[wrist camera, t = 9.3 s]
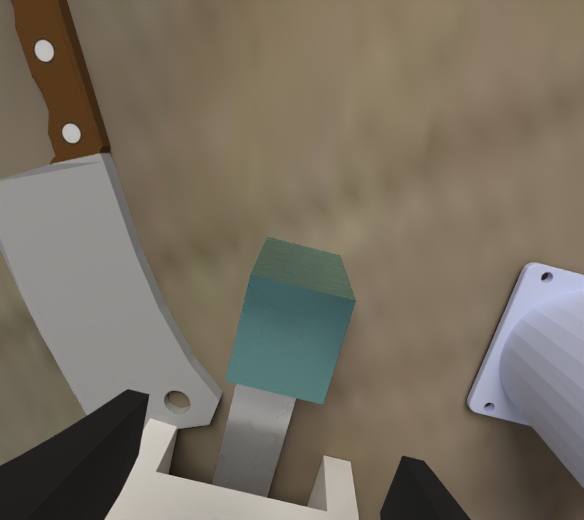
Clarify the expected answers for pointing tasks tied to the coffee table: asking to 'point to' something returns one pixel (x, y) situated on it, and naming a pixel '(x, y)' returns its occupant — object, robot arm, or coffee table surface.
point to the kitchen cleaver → (90, 246)
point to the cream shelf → (221, 490)
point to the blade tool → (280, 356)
